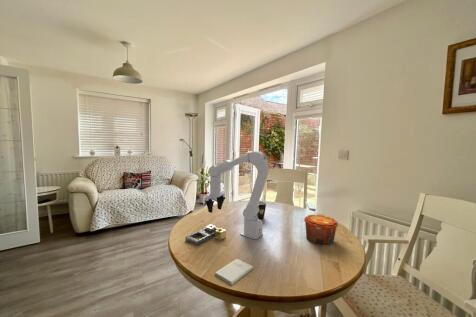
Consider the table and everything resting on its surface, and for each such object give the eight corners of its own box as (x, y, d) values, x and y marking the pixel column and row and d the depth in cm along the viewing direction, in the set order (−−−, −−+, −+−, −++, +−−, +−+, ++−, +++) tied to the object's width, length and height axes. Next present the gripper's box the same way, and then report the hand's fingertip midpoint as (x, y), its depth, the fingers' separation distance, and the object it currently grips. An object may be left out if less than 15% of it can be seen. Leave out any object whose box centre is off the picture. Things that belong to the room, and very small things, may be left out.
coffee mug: (265, 215, 138) (266, 201, 137) (265, 220, 130) (266, 205, 129) (248, 214, 139) (248, 200, 138) (247, 219, 131) (247, 204, 130)
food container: (333, 235, 111) (334, 216, 110) (339, 250, 95) (341, 227, 95) (302, 231, 115) (303, 212, 114) (303, 244, 100) (305, 222, 99)
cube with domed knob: (215, 233, 109) (216, 225, 109) (210, 236, 106) (210, 228, 105) (210, 231, 111) (210, 224, 111) (205, 234, 108) (205, 226, 108)
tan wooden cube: (225, 237, 105) (225, 229, 104) (220, 240, 101) (220, 232, 101) (219, 235, 107) (219, 227, 107) (214, 238, 104) (214, 230, 103)
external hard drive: (214, 276, 75) (236, 261, 84) (231, 286, 69) (252, 269, 79) (214, 272, 74) (236, 257, 84) (231, 282, 69) (253, 265, 79)
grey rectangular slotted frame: (221, 232, 110) (222, 229, 110) (197, 245, 95) (197, 241, 95) (210, 228, 114) (210, 225, 114) (185, 240, 100) (185, 236, 100)
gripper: (218, 184, 123) (218, 206, 124) (200, 187, 112) (200, 212, 112) (227, 185, 119) (227, 208, 120) (210, 189, 107) (210, 215, 108)
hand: (215, 210), depth 116 cm, fingers open, 7 cm apart
